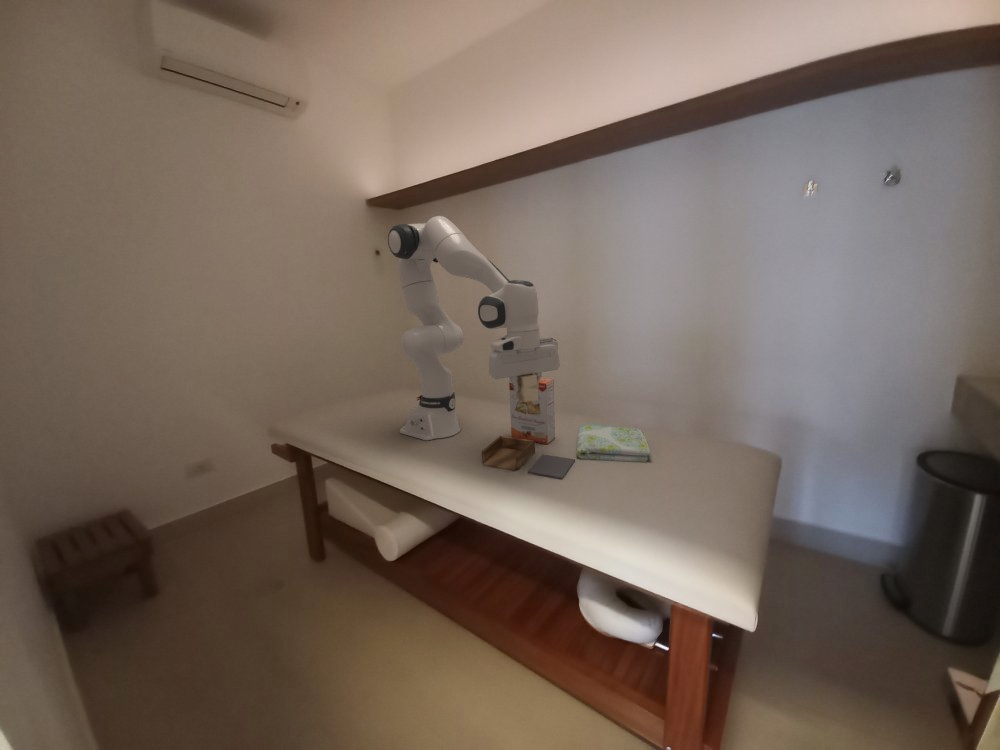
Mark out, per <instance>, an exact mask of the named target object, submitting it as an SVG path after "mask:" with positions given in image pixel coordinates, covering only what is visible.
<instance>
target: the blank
mask: <svg viewBox="0 0 1000 750" xmlns="http://www.w3.org/2000/svg"><path fill="white" fill-rule="evenodd" d="M515 381H516V383H517V384H519V385H521V391H518V392H516V398H518V399H520V400H522V401H523V402H530V401H535V400H538V390H537V375H535V374H527V375H520V376H517V380H515Z"/></svg>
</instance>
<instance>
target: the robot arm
mask: <svg viewBox="0 0 1000 750" xmlns="http://www.w3.org/2000/svg"><path fill="white" fill-rule="evenodd" d="M387 243H388V248H389V251H390V252H391V254H392V255H393V256H394V257H396V258H397V259H399V260H398V275H399V279H400V285H401V289H402V292H403V296H404V300H405V304H406V307H407V310H408V312H409V313H410V314H411V315H413V316H415V317H416V318H418V320H419V321H420V322H421V324H422V325H420V326H414V327H413V328H410V329H409V330H406V331H404V332H403V333H402V335H401V336H400V341H399V346H400V350H401V352H402V354H403V355H404V356H405V357H406V358H407V359H408V360H411V362H412V363H413V364H414V366H415V367H416V369H417V371H418V375H419V380H420V386H421V388H420V389H421V394H420V395H419V396H418V397H416V401H419V402H418V405H417V406H416V407H414V408H413V409H411V411H410V412H409V413H408V414H407V416H406V419H405V425H404V426H402V427H401V428H400V429H399V433H400V434H402V435H406V436H409V437H413V438H416V439H420V440H423V441H432V440H435V439H443V438H448V437H451V436H455V435H457V434H458V433H460V432H461V429H462V428H461V426H460V423H459V420H458V416H457V411H456V395H455V391H454V384H453V373H452V371H451V370H450V369H449V368H448V367H446V366H444V364H443V361H442V359H441V355H445V354H446V355H447V354H448V353H449V354H450V353H452V352H454V351H456V350H457V349H459V348H460V347H461V346H462V345H463V343H464V339H465V338H464V332H463V330H462V328H461V327H460V326H459V325H458V324H457V323H455V322H454V321H452V319H451V317H449V316H448V314H447V313H446V311H445V309H444V308H443V306H442V303H441V301H440V297H439V294H438V291H437V288H436V285H435V279H434V278H433V274H432V270H431V265H432V262H434V263H436V264H437V263H438V264H439V265H440V266H441V267H442V268H443V269H444V270H445V271H446V272H447V273H449V274H450V275H451V276H456V277H460V278H465V279H470V280H474V281H477V282H480V283H481V284H483V285H485V286H486V288H488V289H489V290H490V291H491V294H489V295H486V296H484V297H483V298H481V299H480V301H479V304H478V308H477V315H478V318H479V322H480V323H481V324H482V325H483V327H485V328H487V329H492V330H496V329H497V330H498V329H506V334H505V335H504V336H501V337H499V338H497V339H495V340H493V341H492V342H491V343H490V348H491V349H492V351H491V352H490V354H489V358H488V359H489V360H488V372H489V376H490V377H491V378H493V379H495V380H500V379H505V378H507V379H508V378H509V379H510V381H511V382H512V384H513V385H514V391H515V392H518V391H521V385H519V384H517V383H516V381H515V380H517V376H520V375H527V374H535V375H537V388H539V381H540V379H541V378H543V373H546V372H553V371H557V370H559V368H560V365H561V364H560V356H559V351H558V350H559V343H558V341H557V339H555V338H553V337H548V338H541V337H540V336H541V335H540V325H539V324H538V317H539V316H538V315H539V301H538V300H539V299H538V293H537V290H536V287H535V285H534V283H532V282H531V281H527V280H520V279H519V280H518V279H517V280H516V279H515V280H513V279H512V280H510V279H508V278H507V276H506V275H504V273H503V272H502V271H501V270H500V269H499V268H498V266H497V265H495V264H494V263H493V262H492V261H491V260H490V259H489V258H488V257H486V256H485V255H483V254H482V252H480V251H479V250H478V249H477V248H476V247H475V246H474V245H473V243H471V242H470V241H469V240H468V238H467V237H466V236H465V235H464V233H463V232H462V231H461V230H460V228H458V227H457V225H455V223H453V222H452V221H451V220H450V219H448V218H447V217H445V216H443V215H436V216H433V217H431V218H430V219H429V220H427V222H419V223H400V224H396V225H393V226H392V227H391V228H390V230H389V232H388V236H387ZM509 379H508V380H509Z"/></svg>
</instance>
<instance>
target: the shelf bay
mask: <svg viewBox="0 0 1000 750" xmlns="http://www.w3.org/2000/svg"><path fill="white" fill-rule="evenodd" d="M535 444H536V442H535V441H534V440H527V439H520V438H514V437H511V436H505V435H500V436H498V437H497V438H496V439H494V440H493V441H492V442H491V443H490V444H488V445H487V446H486V447H485V448H483V449H482V450H481V462H482V463H481V464H482V465H483V466H485V467H491V468H497V469H502V470H507V471H512V472H516V471H520V469H522V467H524V465H525V464H526V463H527V462H528V461H529V460H530V458H531V457H533V455H535V454H536V446H535Z"/></svg>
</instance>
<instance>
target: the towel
mask: <svg viewBox="0 0 1000 750" xmlns="http://www.w3.org/2000/svg"><path fill="white" fill-rule="evenodd" d="M575 452H576V453H575V454H576V457H578V458H579V459H580V460H594V461H596V460H597V461H598V460H600V461H615V462H631V463H645V462H646V463H647V462H648V461H649V456H650V455H651V449H650V446H649V444H648V441H647V438H646V433H645V431H643V430H642V429H640V428H638V427H624V426H613V425H603V424H594V423H593V424H592V423H591V424H589V423H588V424H587V423H586V424H582V425H579V427H578V429H577V437H576V450H575Z"/></svg>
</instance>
